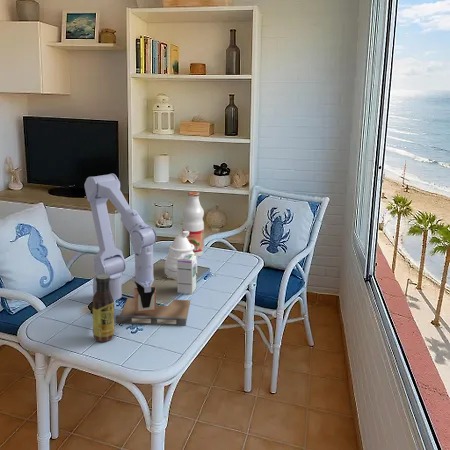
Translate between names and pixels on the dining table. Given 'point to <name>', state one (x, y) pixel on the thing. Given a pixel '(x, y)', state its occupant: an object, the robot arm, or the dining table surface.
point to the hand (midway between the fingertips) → (144, 303)
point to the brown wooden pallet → (156, 314)
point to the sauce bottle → (103, 310)
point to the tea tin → (139, 305)
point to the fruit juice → (194, 223)
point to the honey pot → (178, 253)
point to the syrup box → (186, 273)
